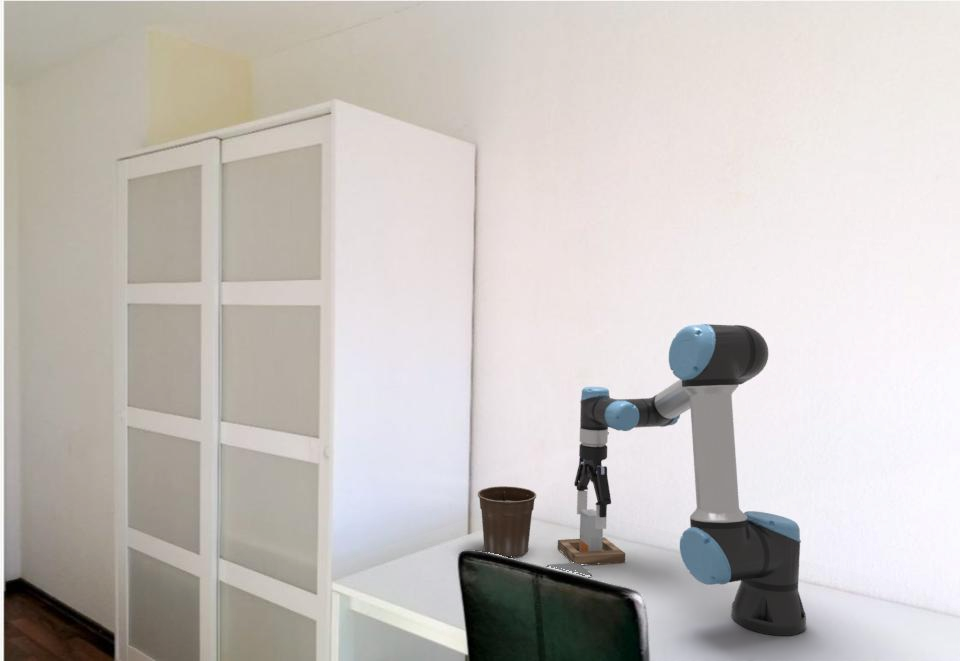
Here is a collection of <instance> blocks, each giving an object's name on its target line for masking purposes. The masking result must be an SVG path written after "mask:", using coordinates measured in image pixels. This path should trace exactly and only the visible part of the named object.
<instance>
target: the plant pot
mask: <svg viewBox="0 0 960 661" xmlns="http://www.w3.org/2000/svg"><path fill="white" fill-rule="evenodd" d="M477 497H478V498H479V508H480V510H481V520H482V521H481V523H482V533H483V536H482V537H483V549H484V552H485V553H486V552H490V553H494V554H499V555H502V556H506V558H507V557H511V556H512V557H511V558H513V559H514V558H517V557H518V556H520V557H522V555H523V556H524V555H525V556H526V554H527V553H528V552H529V542H530V535H531V534H530V533H531V524H532V514H533V511H534V509H535V508H534V506H535V499H537V493H536V492H535V491H533V490H531V489H528V488H525V487H517V486H505V485H504V486H503V485H502V486H501V485H500V486H491V487H487V488H482V489H480V490H479V491H478V492H477Z"/></svg>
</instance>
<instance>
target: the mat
mask: <svg viewBox="0 0 960 661" xmlns="http://www.w3.org/2000/svg"><path fill="white" fill-rule="evenodd" d="M546 565H547V566H546ZM546 565H545V568H547V567H549V566H551V568H554V567H555V569H559V570H562V571H566V570H569V571H572V573H574V572H578V573H576V574H579V575H582V576H585V575H590V576H592V575H593V574H592V573H591V572H590V571H588V570H587V568H585V567H584V565H581V564H580V563H572V562H568V563H567V562H566V563H555V564H546ZM556 567H557V568H556ZM561 568H562V569H561ZM563 569H565V570H563ZM575 570H576V571H575ZM569 571H567V572H569ZM580 573H582V574H580ZM583 574H585V575H583ZM592 577H593V576H592Z"/></svg>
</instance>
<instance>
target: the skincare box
mask: <svg viewBox="0 0 960 661" xmlns="http://www.w3.org/2000/svg"><path fill="white" fill-rule="evenodd" d="M579 516H580V518H579V520H580V521H579V539H580V549H579V551H578V552H591V551H603V550H602V539H603V534H604V531H603V530H604V529H596V528H595V527H596V509H593V508H591V509H588V508H587V510H581V511H580V514H579Z"/></svg>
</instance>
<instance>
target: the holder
mask: <svg viewBox="0 0 960 661" xmlns="http://www.w3.org/2000/svg"><path fill="white" fill-rule="evenodd" d="M557 549H558V550H559V549H560V550H561V551H562V552H563V553H564V554H565V555H566V556H567V557H568V558H569V559H570V560H571V561H572V562H574V563H580V564H596V565H599V564H598V563H611V564H622V563H621V562H625V563H626V552H624V551H623V550H622V549H621V548H619V547H618V546H616V545H615V544H614V543H612V542H611V541H610V540H609V539H608V538H606V537H605V536H604V537H603V539H602V551H591V552H579V549H580V538H572V539H571V538H567V539H558V540H557ZM560 550H559V551H560ZM561 551H560V552H561ZM562 552H561V553H562ZM563 553H562V554H563ZM564 554H563V555H564ZM565 555H564V556H565ZM566 556H565V557H566ZM567 557H566V558H567ZM568 558H567V559H568ZM569 559H568V560H569ZM570 560H569V561H570ZM571 561H570V562H571ZM572 562H571V563H572ZM619 562H620V563H619Z"/></svg>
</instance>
